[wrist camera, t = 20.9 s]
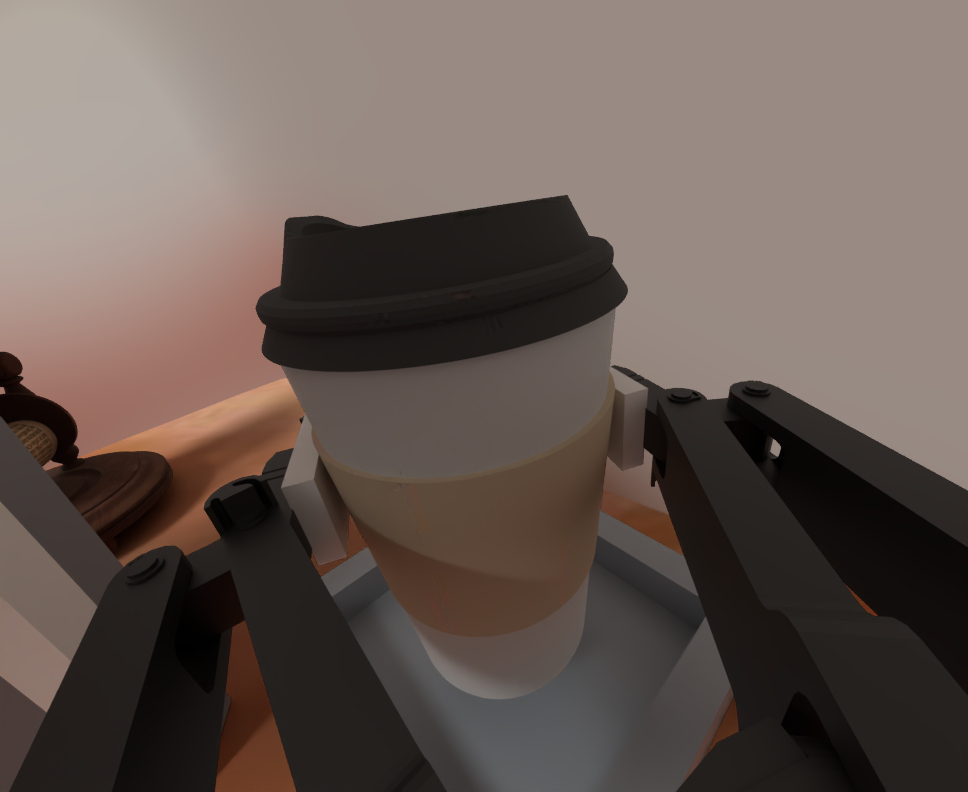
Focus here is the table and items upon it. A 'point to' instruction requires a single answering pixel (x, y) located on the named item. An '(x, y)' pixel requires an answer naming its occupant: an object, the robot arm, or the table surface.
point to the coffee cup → (462, 417)
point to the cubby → (41, 595)
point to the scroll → (82, 460)
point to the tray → (564, 682)
